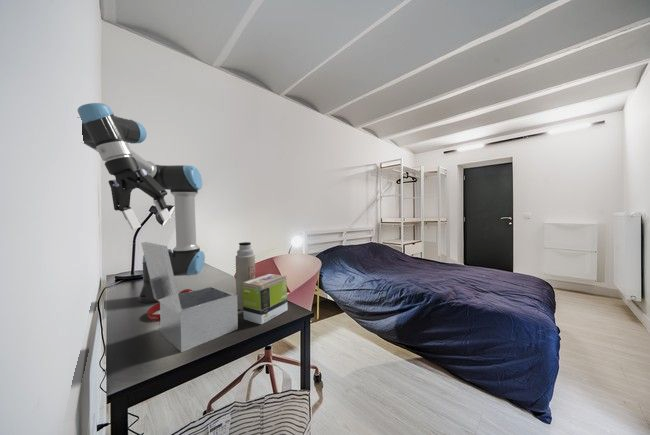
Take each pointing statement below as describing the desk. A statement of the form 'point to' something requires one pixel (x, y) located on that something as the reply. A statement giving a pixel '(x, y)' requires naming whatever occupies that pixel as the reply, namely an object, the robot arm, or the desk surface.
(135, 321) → the desk surface
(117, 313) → the desk surface
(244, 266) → the thermos bottle
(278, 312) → the tea box
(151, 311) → the headphones
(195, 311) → the open-top storage bin
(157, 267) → the lid
